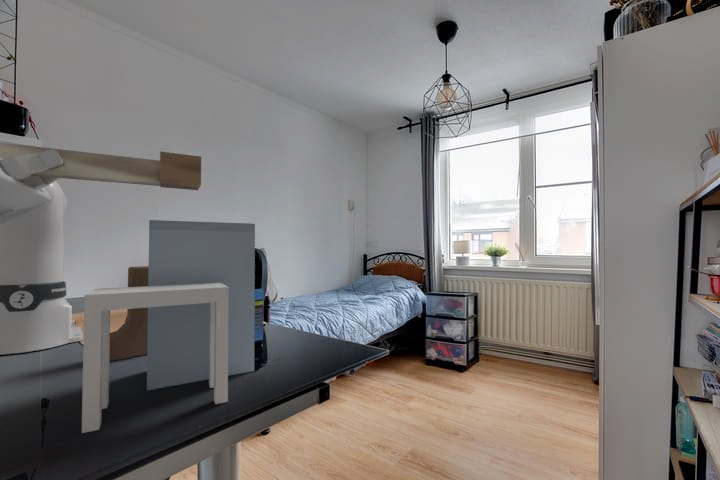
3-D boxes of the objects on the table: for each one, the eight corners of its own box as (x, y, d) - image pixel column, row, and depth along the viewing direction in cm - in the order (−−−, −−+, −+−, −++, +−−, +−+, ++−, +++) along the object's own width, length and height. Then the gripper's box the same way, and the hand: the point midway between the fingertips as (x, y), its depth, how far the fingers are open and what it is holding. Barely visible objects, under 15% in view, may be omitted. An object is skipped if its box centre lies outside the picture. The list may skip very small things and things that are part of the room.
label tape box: (254, 337, 83) (254, 287, 83) (264, 340, 80) (264, 288, 81) (220, 345, 76) (220, 290, 76) (229, 348, 73) (229, 291, 74)
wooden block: (102, 363, 64) (104, 268, 65) (99, 358, 67) (101, 267, 68) (156, 353, 70) (157, 266, 71) (151, 348, 73) (152, 266, 74)
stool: (94, 406, 46) (96, 288, 47) (219, 382, 54) (220, 282, 55) (81, 433, 39) (84, 295, 40) (227, 401, 47) (228, 287, 48)
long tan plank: (9, 175, 41) (10, 143, 42) (197, 190, 52) (198, 164, 52) (-9, 166, 37) (-8, 130, 37) (200, 184, 48) (201, 156, 48)
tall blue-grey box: (149, 370, 60) (151, 224, 61) (242, 355, 68) (243, 227, 69) (146, 390, 51) (149, 219, 52) (254, 371, 59) (254, 223, 60)
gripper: (-196, 160, 26) (17, 106, 33) (-51, 197, 44) (69, 157, 50) (-135, 231, 28) (58, 166, 34) (-18, 239, 45) (95, 195, 52)
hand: (65, 161), depth 42 cm, fingers closed on long tan plank, 3 cm apart
